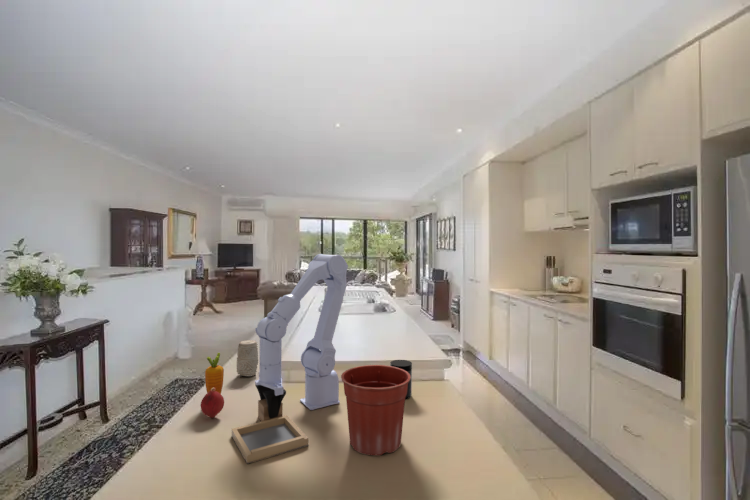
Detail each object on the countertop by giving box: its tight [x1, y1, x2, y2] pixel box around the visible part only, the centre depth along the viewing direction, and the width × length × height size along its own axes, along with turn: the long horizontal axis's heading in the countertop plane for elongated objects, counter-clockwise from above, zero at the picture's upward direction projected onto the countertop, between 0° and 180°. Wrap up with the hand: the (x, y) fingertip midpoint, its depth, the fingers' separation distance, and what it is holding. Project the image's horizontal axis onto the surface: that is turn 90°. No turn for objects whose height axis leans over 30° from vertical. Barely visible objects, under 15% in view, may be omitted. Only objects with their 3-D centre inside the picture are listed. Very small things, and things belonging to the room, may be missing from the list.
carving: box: [236, 339, 259, 377], centre depth 137 cm, size 6×8×12 cm
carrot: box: [204, 352, 225, 395], centre depth 111 cm, size 5×5×15 cm
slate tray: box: [231, 414, 309, 465], centre depth 91 cm, size 14×14×2 cm
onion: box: [200, 388, 225, 419], centre depth 103 cm, size 6×6×8 cm
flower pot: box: [340, 364, 411, 456], centre depth 91 cm, size 16×16×16 cm
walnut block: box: [257, 399, 284, 422], centre depth 103 cm, size 5×5×4 cm
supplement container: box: [389, 359, 413, 401], centre depth 119 cm, size 7×7×10 cm
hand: (270, 413), depth 103 cm, fingers closed on walnut block, 5 cm apart
